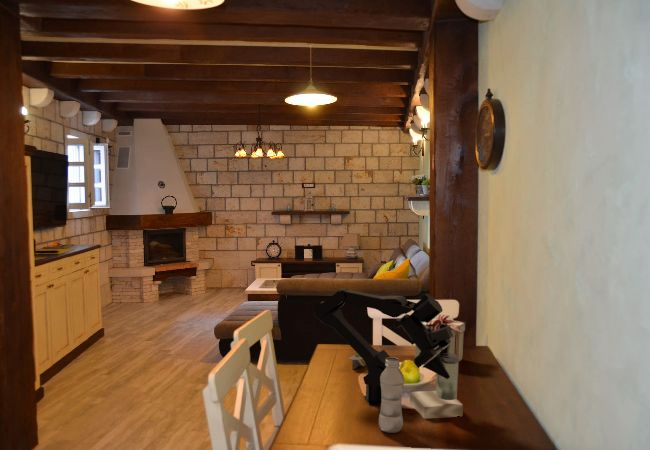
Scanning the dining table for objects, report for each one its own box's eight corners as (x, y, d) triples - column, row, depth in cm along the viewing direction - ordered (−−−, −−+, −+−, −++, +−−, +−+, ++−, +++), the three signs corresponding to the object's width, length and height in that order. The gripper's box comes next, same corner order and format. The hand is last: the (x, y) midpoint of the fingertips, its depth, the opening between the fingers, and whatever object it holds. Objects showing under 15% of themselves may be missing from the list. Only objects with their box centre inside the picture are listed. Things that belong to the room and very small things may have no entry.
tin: (443, 401, 154) (445, 360, 153) (431, 393, 160) (433, 353, 159) (461, 398, 156) (463, 358, 156) (449, 391, 162) (451, 352, 161)
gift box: (459, 370, 201) (461, 325, 200) (412, 362, 210) (414, 318, 209) (471, 358, 215) (473, 316, 214) (427, 351, 225) (428, 310, 224)
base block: (424, 418, 156) (424, 406, 156) (409, 402, 168) (410, 391, 168) (462, 416, 159) (462, 404, 158) (445, 400, 170) (446, 390, 170)
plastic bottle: (376, 425, 151) (378, 355, 150) (399, 425, 151) (401, 355, 150) (380, 436, 144) (382, 363, 143) (405, 435, 145) (407, 362, 144)
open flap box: (384, 365, 207) (385, 348, 206) (362, 378, 191) (362, 360, 191) (357, 359, 213) (357, 343, 213) (333, 371, 198) (333, 354, 198)
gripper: (426, 322, 150) (464, 368, 146) (445, 310, 167) (480, 351, 162) (399, 345, 155) (434, 390, 150) (420, 331, 171) (452, 372, 166)
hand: (451, 375), depth 157 cm, fingers closed on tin, 6 cm apart
